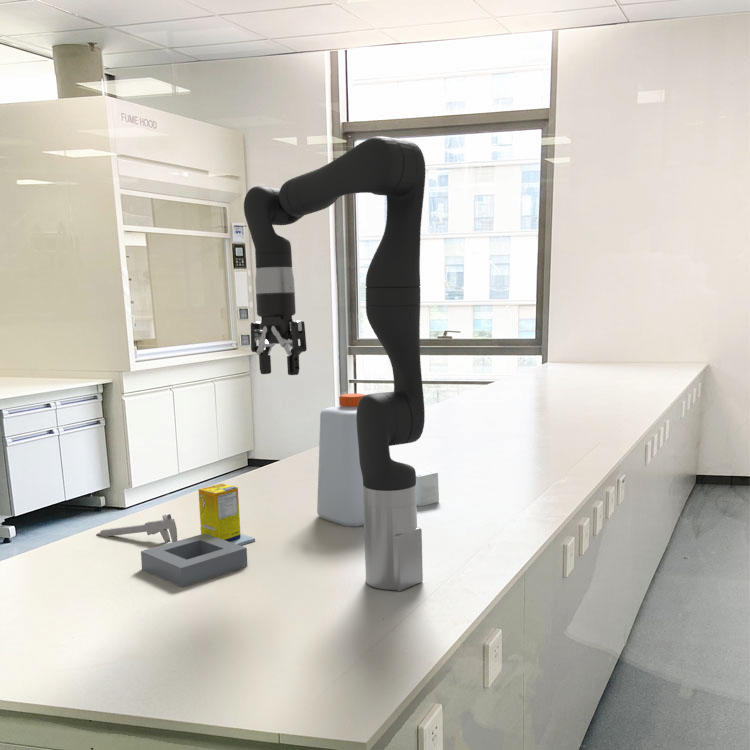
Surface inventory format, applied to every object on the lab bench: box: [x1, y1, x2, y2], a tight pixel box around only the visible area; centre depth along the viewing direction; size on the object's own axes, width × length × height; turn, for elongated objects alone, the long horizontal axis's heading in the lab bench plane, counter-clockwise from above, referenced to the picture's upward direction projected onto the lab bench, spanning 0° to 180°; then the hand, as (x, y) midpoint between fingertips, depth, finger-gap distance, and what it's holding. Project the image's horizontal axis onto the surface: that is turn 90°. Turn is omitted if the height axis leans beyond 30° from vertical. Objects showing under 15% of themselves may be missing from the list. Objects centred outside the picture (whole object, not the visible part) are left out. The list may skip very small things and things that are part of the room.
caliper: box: [95, 513, 178, 544], centre depth 161 cm, size 20×1×6 cm, turn 69°
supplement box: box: [198, 483, 241, 542], centre depth 157 cm, size 6×6×11 cm
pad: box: [229, 533, 256, 546], centre depth 157 cm, size 10×10×1 cm
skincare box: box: [415, 468, 440, 507], centre depth 184 cm, size 6×6×7 cm
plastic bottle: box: [316, 393, 391, 527], centre depth 172 cm, size 15×15×28 cm
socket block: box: [140, 533, 248, 588], centre depth 142 cm, size 14×14×4 cm
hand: (279, 374), depth 149 cm, fingers open, 8 cm apart
